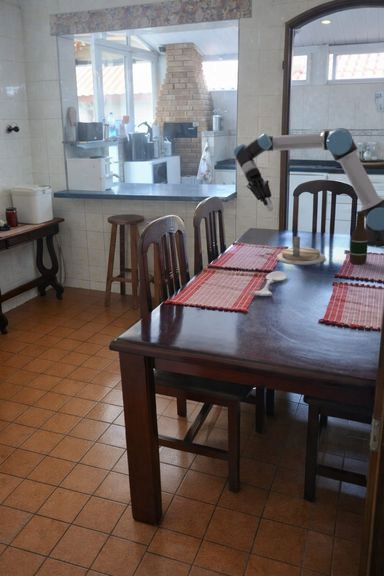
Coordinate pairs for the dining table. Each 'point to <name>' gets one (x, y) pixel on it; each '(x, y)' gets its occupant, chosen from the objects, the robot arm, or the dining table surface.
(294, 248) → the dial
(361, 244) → the beer bottle
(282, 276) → the spoon
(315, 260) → the white plate
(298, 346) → the dining table surface
